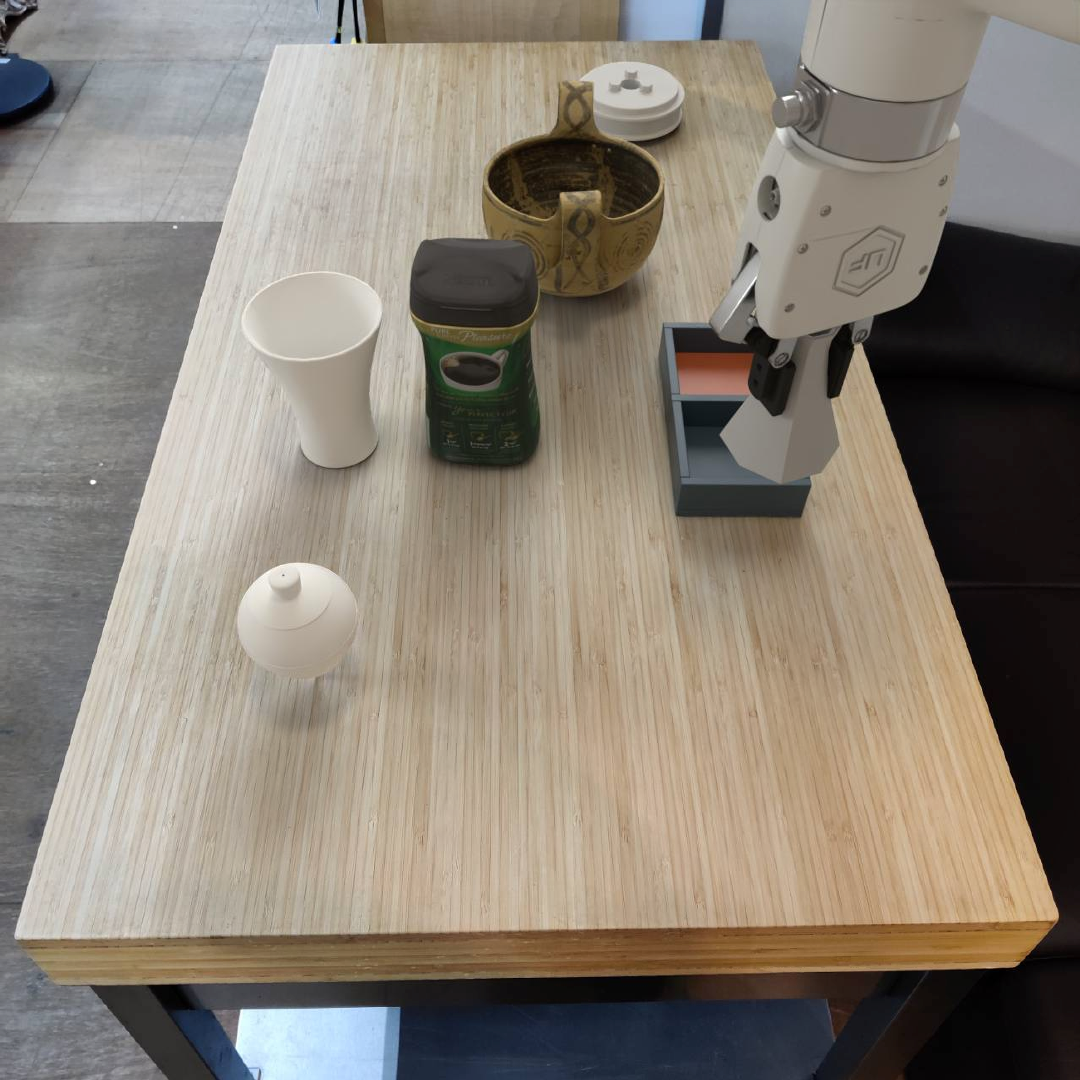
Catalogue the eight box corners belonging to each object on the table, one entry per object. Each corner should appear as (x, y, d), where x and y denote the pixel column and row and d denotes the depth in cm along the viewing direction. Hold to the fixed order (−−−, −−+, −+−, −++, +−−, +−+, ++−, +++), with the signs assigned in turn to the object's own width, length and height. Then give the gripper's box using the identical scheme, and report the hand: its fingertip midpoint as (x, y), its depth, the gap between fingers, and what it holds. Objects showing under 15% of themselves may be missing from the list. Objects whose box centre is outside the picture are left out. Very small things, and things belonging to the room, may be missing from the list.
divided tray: (801, 517, 79) (812, 485, 76) (675, 516, 79) (681, 484, 76) (767, 355, 91) (775, 322, 88) (658, 354, 91) (662, 321, 88)
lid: (681, 151, 112) (687, 109, 108) (571, 146, 113) (572, 104, 109) (680, 95, 120) (685, 54, 116) (577, 91, 121) (578, 50, 117)
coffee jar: (543, 407, 86) (545, 223, 72) (536, 474, 81) (536, 291, 67) (434, 401, 87) (414, 216, 72) (420, 467, 82) (395, 283, 67)
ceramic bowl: (663, 349, 91) (682, 206, 79) (480, 348, 91) (472, 204, 79) (648, 210, 105) (662, 71, 93) (489, 209, 105) (483, 69, 93)
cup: (378, 497, 80) (354, 371, 69) (257, 474, 81) (216, 348, 71) (417, 409, 86) (401, 281, 75) (305, 389, 88) (274, 261, 77)
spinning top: (370, 624, 72) (345, 520, 63) (374, 717, 67) (347, 619, 58) (264, 637, 71) (222, 533, 62) (261, 731, 67) (215, 635, 57)
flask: (780, 502, 61) (816, 381, 53) (699, 435, 64) (721, 313, 56) (858, 450, 63) (903, 327, 55) (776, 389, 67) (808, 265, 59)
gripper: (761, 180, 42) (703, 472, 56) (1068, 105, 46) (940, 396, 60) (679, 98, 46) (645, 389, 60) (966, 35, 50) (869, 322, 64)
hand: (793, 390), depth 60 cm, fingers closed on flask, 3 cm apart
